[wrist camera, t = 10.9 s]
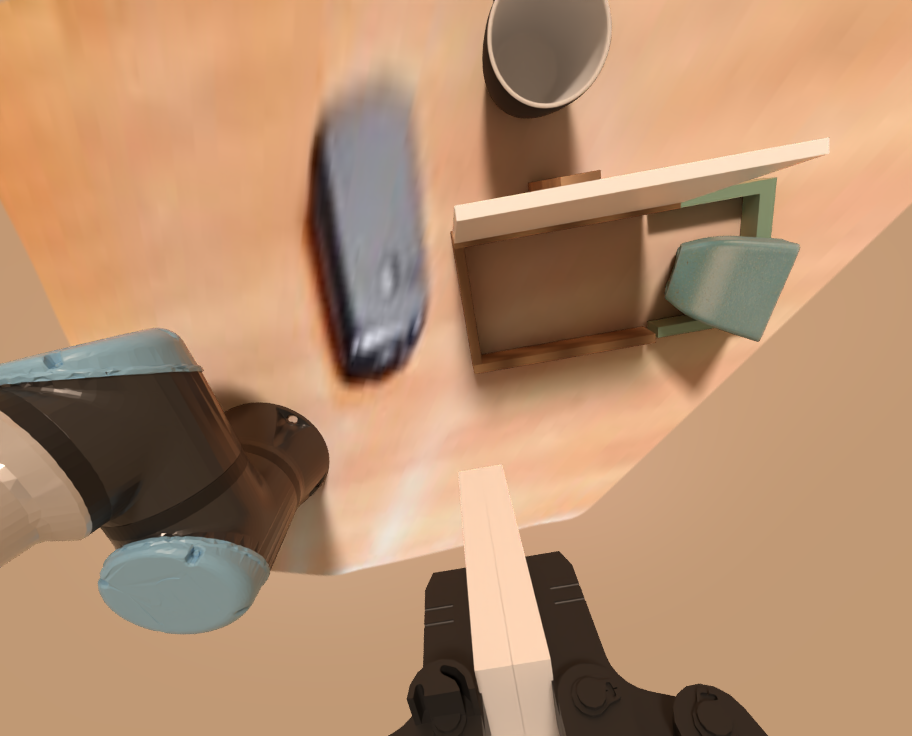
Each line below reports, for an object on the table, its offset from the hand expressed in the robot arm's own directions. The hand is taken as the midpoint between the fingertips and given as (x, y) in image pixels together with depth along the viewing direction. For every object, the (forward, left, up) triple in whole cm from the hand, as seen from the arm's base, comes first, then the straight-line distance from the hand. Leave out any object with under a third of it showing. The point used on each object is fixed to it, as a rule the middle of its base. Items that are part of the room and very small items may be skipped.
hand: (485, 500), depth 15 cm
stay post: (+11, +9, -34) cm, 37 cm away
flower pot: (+23, -1, -32) cm, 39 cm away
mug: (+10, +20, -35) cm, 41 cm away
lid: (+11, +6, -27) cm, 29 cm away
